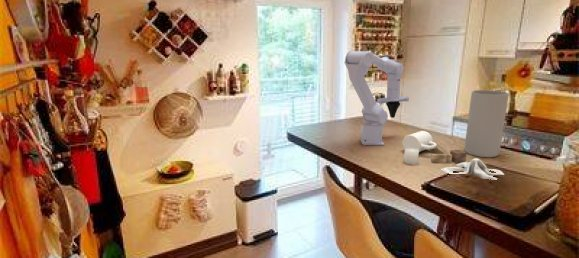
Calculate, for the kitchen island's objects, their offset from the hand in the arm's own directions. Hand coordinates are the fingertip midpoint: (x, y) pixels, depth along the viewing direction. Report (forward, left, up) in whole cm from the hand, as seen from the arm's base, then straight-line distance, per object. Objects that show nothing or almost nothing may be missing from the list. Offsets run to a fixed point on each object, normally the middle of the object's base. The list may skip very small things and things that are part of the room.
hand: (392, 117), depth 155 cm
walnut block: (+17, -32, -10) cm, 38 cm away
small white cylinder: (-1, -33, -10) cm, 35 cm away
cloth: (+18, -46, -11) cm, 50 cm away
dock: (+10, -22, -10) cm, 27 cm away
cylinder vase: (+31, -22, -10) cm, 40 cm away
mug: (+7, -22, -10) cm, 25 cm away
